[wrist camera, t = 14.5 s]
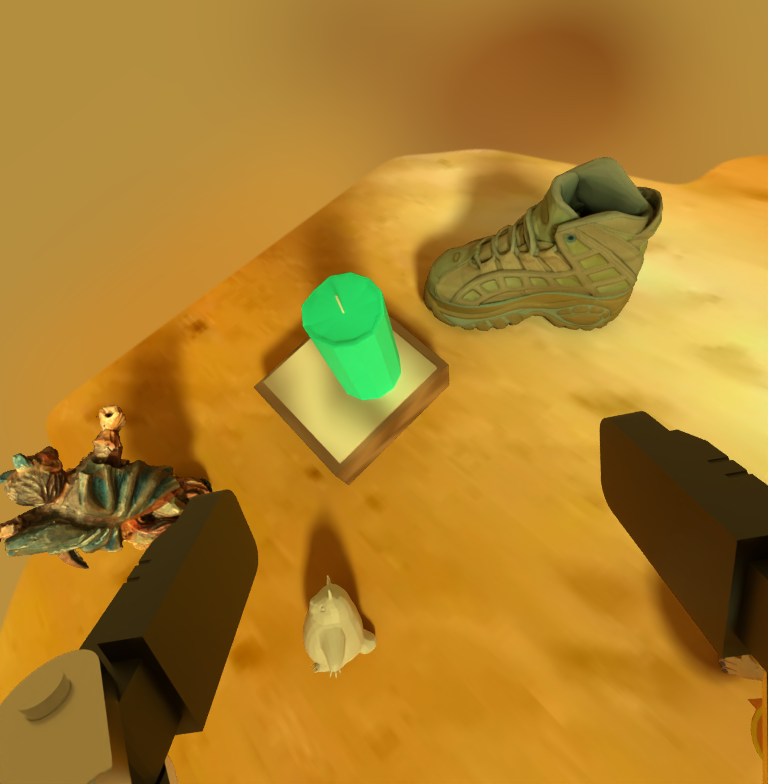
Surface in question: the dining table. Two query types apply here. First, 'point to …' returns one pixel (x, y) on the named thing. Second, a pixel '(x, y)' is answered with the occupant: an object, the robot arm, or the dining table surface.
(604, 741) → the dining table surface
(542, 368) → the dining table surface
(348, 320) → the candle
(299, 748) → the dining table surface
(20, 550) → the figurine
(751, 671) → the toy
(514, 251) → the sneaker
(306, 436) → the wooden square box
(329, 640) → the figurine
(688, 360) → the dining table surface
